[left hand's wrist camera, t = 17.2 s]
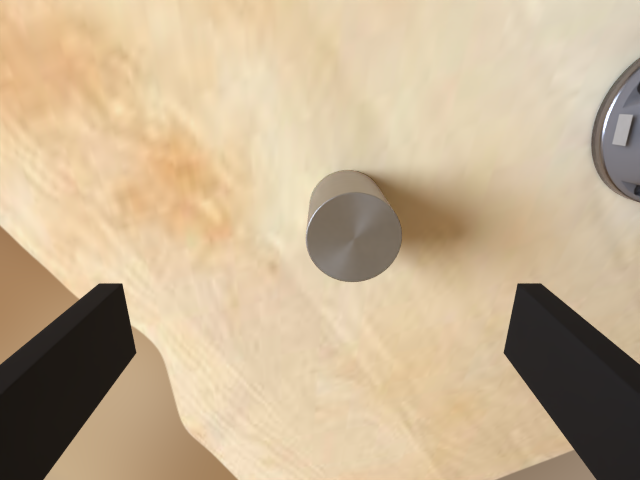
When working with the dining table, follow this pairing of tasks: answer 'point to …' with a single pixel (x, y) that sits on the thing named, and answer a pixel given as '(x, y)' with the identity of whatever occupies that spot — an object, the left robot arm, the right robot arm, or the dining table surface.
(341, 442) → the dining table surface
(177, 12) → the dining table surface
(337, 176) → the tin
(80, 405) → the left robot arm
